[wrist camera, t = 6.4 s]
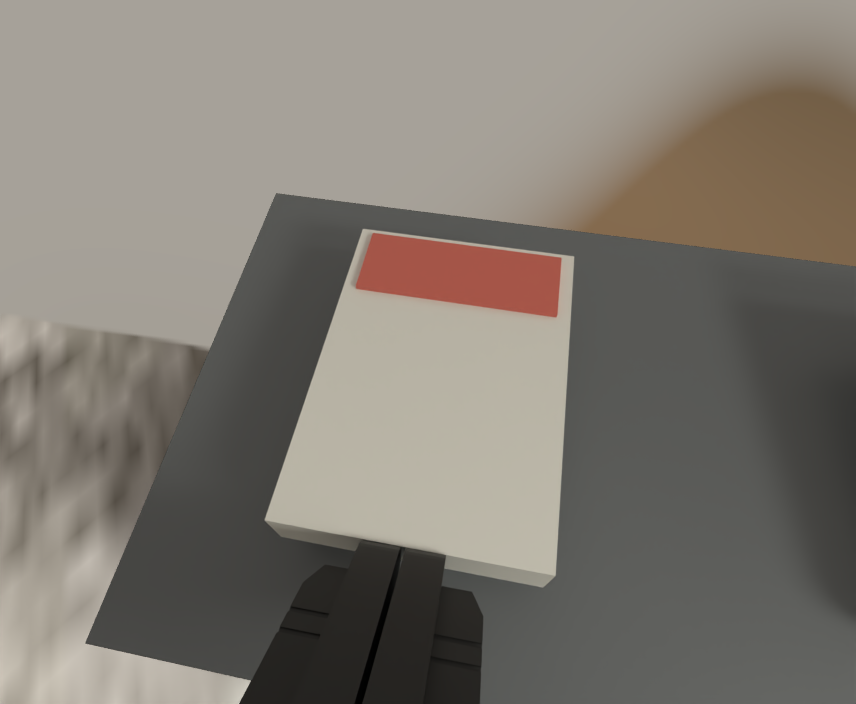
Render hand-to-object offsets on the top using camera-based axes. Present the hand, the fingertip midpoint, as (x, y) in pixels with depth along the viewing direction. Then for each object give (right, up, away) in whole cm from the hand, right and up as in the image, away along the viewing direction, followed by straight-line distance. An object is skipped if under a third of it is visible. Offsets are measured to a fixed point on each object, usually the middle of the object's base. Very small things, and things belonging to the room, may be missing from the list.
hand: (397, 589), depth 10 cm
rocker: (+1, +4, +2) cm, 4 cm away
